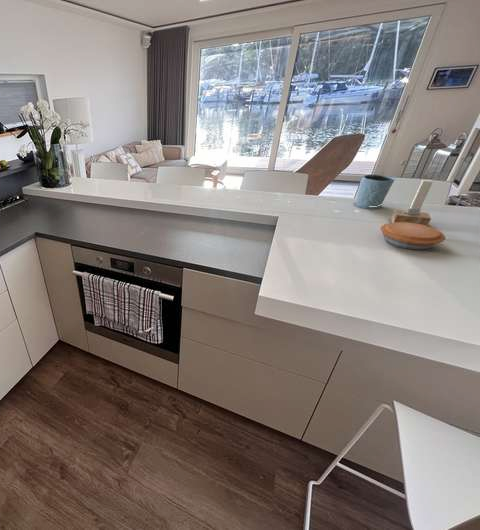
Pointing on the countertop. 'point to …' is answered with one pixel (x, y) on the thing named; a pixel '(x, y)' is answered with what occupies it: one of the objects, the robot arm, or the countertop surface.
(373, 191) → the blue gray cup
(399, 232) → the pie
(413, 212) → the knife
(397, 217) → the knife stand
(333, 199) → the countertop surface
